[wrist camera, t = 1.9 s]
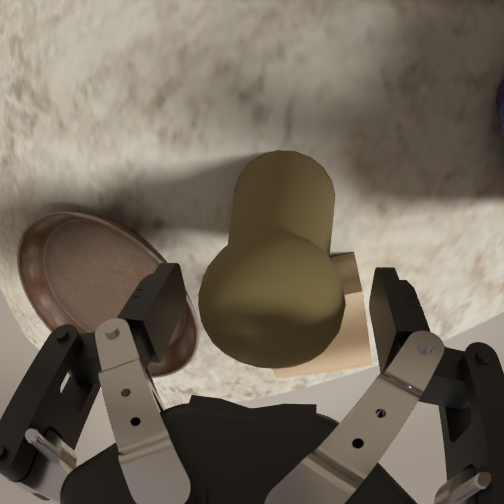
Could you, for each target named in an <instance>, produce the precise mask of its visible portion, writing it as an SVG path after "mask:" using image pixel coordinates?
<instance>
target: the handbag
mask: <svg viewBox="0 0 504 504" xmlns="http://www.w3.org/2000/svg"><path fill="white" fill-rule="evenodd" d="M496 103H497V107H498V111H499V117H500V125H501V133H502V135H503V138H504V79H503V81H502V83H501V84H500V86H499V90H498V95H497V99H496Z"/></svg>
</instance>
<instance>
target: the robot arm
mask: <svg viewBox="0 0 504 504" xmlns="http://www.w3.org/2000/svg"><path fill="white" fill-rule="evenodd" d="M186 297H187V296H186V290H185V285H184V281H183V277H182V273H181V268H180V265H179V264H178V263H160V264H159V266H158V267H157V269H156V270H155V272H154V273H153V274H149V275H147V276H146V277H145V278H144V279H142V280H141V281H140V282H139V284H138V286H137V287H136V289H135V290H134V292H133V293H132V295H131V297H130V298H129V299H128V301H127V303H126V304H125V306H124V307H123V309H122V310H121V312H120V314H119V315H118V317H117V318H115V319H110V320H107V321H105V322H103V323H102V324H101V325H100V326H99V327H98V328H97V330H96V332H91V333H83V334H80V333H79V332H78V330H77V328H76V327H75V326H74V325H71V324H65V325H62V326H59V327H57V328H56V329H55V330H53V332H52V333H51V334H50V335H49V337H48V339H47V340H46V342H45V343H44V345H43V346H42V348H41V350H40V351H39V353H38V354H37V356H36V358H35V359H34V361H33V363H32V364H31V366H30V367H29V369H28V371H27V373H26V374H25V376H24V378H23V379H22V381H21V383H20V385H19V386H18V388H17V390H16V392H15V393H14V395H13V397H12V399H11V401H10V403H9V405H8V406H7V408H6V410H5V412H4V414H3V416H2V418H1V420H0V474H2V475H3V476H5V477H6V478H7V479H8V480H9V481H11V482H12V483H14V484H15V485H17V486H18V487H20V488H22V489H23V490H25V491H27V492H29V493H32V494H33V495H35V496H37V497H38V498H40V499H42V500H53V501H55V502H57V503H59V504H417V503H416V502H415V501H414V500H413V499H412V498H411V497H410V495H409V494H408V493H407V492H406V491H405V490H404V489H403V488H402V487H401V486H400V485H399V484H398V483H397V482H396V481H395V480H394V479H393V478H392V477H391V476H390V475H389V474H388V472H386V470H385V469H383V467H382V466H381V465H380V464H379V463H378V461H379V460H380V458H381V457H382V456H383V454H384V453H385V452H386V450H387V449H388V447H389V446H390V444H391V443H392V441H393V440H394V439H395V437H396V436H397V434H398V432H399V431H400V430H401V428H402V427H403V425H404V423H405V422H406V420H407V419H408V417H409V415H410V414H411V412H412V410H413V409H414V407H415V406H416V404H417V402H418V401H420V402H424V403H429V404H435V405H438V406H439V412H440V418H441V425H442V433H443V441H444V450H445V460H446V471H447V482H446V483H445V484H444V485H442V486H441V487H440V488H439V490H438V491H437V493H436V496H435V500H434V504H504V373H503V370H502V367H501V364H500V361H499V359H498V356H497V354H496V352H495V351H494V349H493V348H491V347H490V346H489V345H487V344H485V343H480V342H476V343H472V344H470V345H469V346H468V347H467V349H466V350H465V351H460V350H455V349H451V348H447V347H445V346H444V344H443V342H442V340H441V339H440V338H439V337H438V336H437V335H436V334H434V333H432V332H430V329H429V326H428V323H427V321H426V318H425V315H424V312H423V310H422V307H421V306H420V305H421V304H420V302H419V299H418V297H417V294H416V292H415V289H414V287H413V286H412V285H411V284H410V283H409V282H408V281H407V280H399V278H398V275H397V272H396V270H395V268H392V267H377V268H376V269H375V273H374V278H373V284H372V289H371V295H370V301H369V310H370V316H371V321H372V327H373V332H374V337H375V343H376V348H377V354H378V360H379V366H380V374H379V375H378V376H377V378H376V379H375V380H374V382H373V383H372V384H371V386H370V387H369V388H368V390H367V391H366V392H365V393H364V395H363V396H362V397H361V399H360V400H359V401H358V402H357V403H356V405H355V406H354V407H353V409H351V411H350V412H349V413H348V414H347V415H346V417H345V418H344V419H343V420H342V421H341V423H339V422H338V421H336V420H334V419H332V418H330V417H328V416H325V415H321V414H318V413H316V404H280V405H274V406H267V407H260V408H247V407H244V406H241V405H238V404H235V403H232V402H229V401H226V400H223V399H220V398H211V397H203V396H196V395H192V396H191V399H190V402H189V403H187V404H181V405H177V406H173V407H171V408H168V409H166V410H165V408H164V405H163V403H162V401H161V399H160V396H159V394H158V391H157V389H156V387H155V384H154V382H153V379H152V377H151V374H150V372H149V369H148V366H149V363H150V362H155V363H161V360H162V358H163V356H164V353H165V351H166V349H167V346H168V344H169V342H170V340H171V337H172V335H173V333H174V330H175V328H176V326H177V324H178V321H179V319H180V317H181V314H182V312H183V310H184V308H185V305H186ZM67 372H68V373H69V375H70V377H69V379H68V381H67V383H66V385H65V387H64V389H63V391H62V393H61V392H60V387H61V384H62V382H63V380H64V378H65V376H66V374H67ZM100 387H101V389H102V393H103V397H104V401H105V405H106V408H107V412H108V416H109V420H110V423H111V427H112V430H113V434H114V437H115V440H116V443H114V444H113V445H111V446H110V447H108V448H107V449H105V450H103V451H102V452H100V453H99V454H97V455H96V456H94V457H92V458H91V459H89V460H87V461H86V462H84V463H83V464H81V465H79V466H77V465H76V462H77V459H76V454H75V452H74V450H75V447H76V444H77V442H78V439H79V437H80V434H81V432H82V429H83V427H84V424H85V422H86V420H87V417H88V415H89V412H90V410H91V408H92V405H93V403H94V400H95V398H96V396H97V394H98V392H99V389H100Z"/></svg>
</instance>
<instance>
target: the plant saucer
mask: <svg viewBox="0 0 504 504" xmlns="http://www.w3.org/2000/svg"><path fill="white" fill-rule="evenodd" d="M17 258H18V259H17V263H18V271H19V276H20V280H21V283H22V286H23V289H24V291H25V293H26V296H27V298H28V300H29V302H30V303H31V305H32V307H33V309H34V310H35V312H36V313H37V315H38V316H39V317H40V319H41V320H42V321H43V323H44V324H45V325H46V326H47V327H48V329H49V330H50V331H51V332H53V330H55V329H56V328H57V327H59V326H62V325H65V324H71V325H74V326H75V327H76V328H77V330H78V332H79V333H80V334H83V333H91V332H96V330H97V328H98V327H99V326H100V325H101V324H102V323H103V322H105V321H107V320H110V319H115V318H117V317H118V315H119V314H120V312H121V310H122V309H123V307H124V306H125V304H126V303H127V301H128V299H129V298H130V297H131V295H132V293H133V292H134V290H135V289H136V287H137V286H138V284H139V282H140V281H141V280H142V279H144V278H145V277H146V276H147V275H149V274H153V273H154V272H155V270H156V269H157V267H158V266H159V264H160V263H167V261H166V260H165V259H164V258H163V257H162V256H161V255H160V254H159V253H158V252H157V251H156V250H155V249H154V248H153V247H152V246H151V245H150V244H148V243H147V242H146V241H145V240H143V239H142V238H141V237H139V236H138V235H137V234H135V233H134V232H132V231H130V230H129V229H127V228H125V227H123V226H122V225H120V224H118V223H116V222H113V221H111V220H109V219H106V218H103V217H100V216H96V215H92V214H88V213H82V212H72V211H61V212H52V213H48V214H45V215H43V216H41V217H39V218H37V219H35V220H34V221H33V222H32V223H31V224H30V225H29V226H28V227H27V228H26V230H25V231H24V233H23V235H22V237H21V239H20V242H19V247H18V254H17ZM185 290H186V289H185ZM186 296H187V297H186V305H185V308H184V310H183V312H182V314H181V317H180V319H179V321H178V324H177V326H176V328H175V330H174V333H173V335H172V337H171V340H170V342H169V344H168V346H167V349H166V351H165V353H164V356H163V358H162V360H161V363H155V362H150V363H149V366H148V369H149V372H150V374H151V377H152V378H158V377H163V376H168V375H171V374H174V373H176V372H178V371H180V370H181V369H183V368H184V367H186V366H187V365H188V364H189V363H190V362H191V360H192V359H193V357H194V356H195V353H196V351H197V348H198V344H199V326H198V321H197V317H196V313H195V310H194V308H193V305H192V302H191V300H190V298H189V295H188V293H187V291H186Z"/></svg>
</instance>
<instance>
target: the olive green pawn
mask: <svg viewBox="0 0 504 504" xmlns="http://www.w3.org/2000/svg"><path fill="white" fill-rule="evenodd" d="M334 203H335V192H334V188H333V184H332V180H331V179H330V177H329V175H328V174H327V172H326V171H325V169H324V168H323V167H322V166H321V165H320V164H318V163H317V162H316V161H315V160H313V159H312V158H311V157H308V156H306V155H303V154H301V153H298V152H295V151H275V152H271V153H267V154H264V155H261V156H260V157H258V158H257V159H255V160H254V161H252V162H251V163H249V164H248V166H247V167H246V168H245V170H244V171H243V172H242V174H241V175H240V177H239V180H238V183H237V186H236V190H235V197H234V204H233V211H232V218H231V226H230V233H229V240H228V245H227V246H226V247H224V248H223V249H222V250H221V251H220V252H219V254H218V255H217V256H216V257H215V259H214V260H213V261H212V262H211V263H210V265H209V266H208V268H207V270H206V272H205V274H204V276H203V280H202V284H201V287H200V291H199V302H198V305H199V311H200V317H201V322H202V324H203V326H204V328H205V330H206V332H207V334H208V336H209V337H210V339H211V341H212V342H213V343H214V344H215V345H216V346H217V347H218V348H219V349H220V350H221V351H222V352H224V353H225V354H226V355H228V356H230V357H232V358H234V359H236V360H237V361H239V362H242V363H245V364H248V365H252V366H255V367H261V368H272V369H279V368H289V367H295V366H298V365H301V364H304V363H307V362H310V361H311V360H313V359H314V358H316V357H317V356H319V355H320V354H322V353H323V352H324V351H325V350H326V349H327V347H328V346H329V345H330V344H331V342H332V341H333V340H334V338H335V337H336V336H337V334H338V333H339V332H340V328H341V324H342V320H343V316H344V311H345V307H346V301H345V295H344V290H343V284H342V279H341V275H340V274H339V272H338V270H337V269H336V267H335V266H334V264H333V263H332V261H331V260H330V258H329V254H330V245H331V235H332V225H333V215H334Z"/></svg>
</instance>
